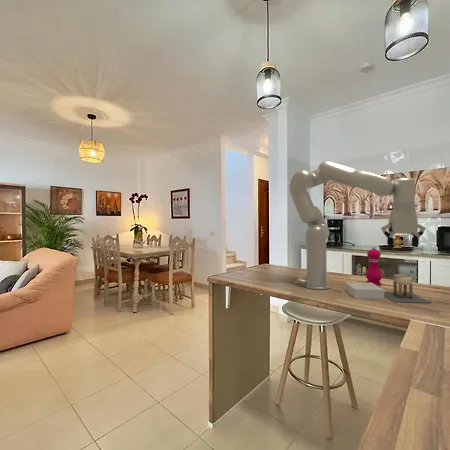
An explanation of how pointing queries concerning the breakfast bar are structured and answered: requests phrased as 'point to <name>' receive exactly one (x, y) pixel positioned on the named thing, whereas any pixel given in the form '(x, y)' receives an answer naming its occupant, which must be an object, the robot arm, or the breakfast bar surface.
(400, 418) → the breakfast bar surface
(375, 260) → the pepper mill
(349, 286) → the step
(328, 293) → the breakfast bar surface
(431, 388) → the breakfast bar surface
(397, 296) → the mat
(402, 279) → the stool
